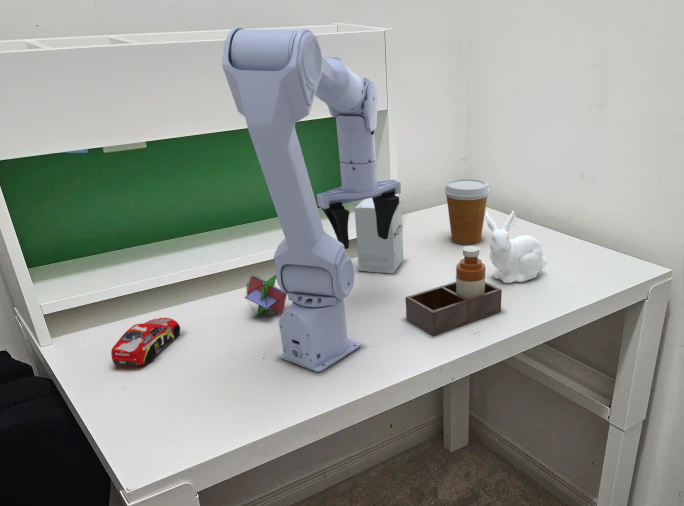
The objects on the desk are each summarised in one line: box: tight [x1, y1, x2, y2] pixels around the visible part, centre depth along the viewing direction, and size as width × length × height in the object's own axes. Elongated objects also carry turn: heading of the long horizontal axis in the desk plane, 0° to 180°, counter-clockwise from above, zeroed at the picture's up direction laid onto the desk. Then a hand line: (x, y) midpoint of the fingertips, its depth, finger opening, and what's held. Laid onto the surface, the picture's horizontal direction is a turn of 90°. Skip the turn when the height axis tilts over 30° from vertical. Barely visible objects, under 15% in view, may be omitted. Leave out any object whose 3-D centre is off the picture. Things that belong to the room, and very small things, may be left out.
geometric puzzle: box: [243, 274, 288, 318], centre depth 110 cm, size 7×7×8 cm
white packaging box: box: [354, 198, 404, 275], centre depth 126 cm, size 7×7×13 cm
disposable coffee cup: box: [443, 178, 490, 245], centre depth 140 cm, size 10×10×12 cm
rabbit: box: [484, 210, 548, 284], centre depth 123 cm, size 12×9×12 cm
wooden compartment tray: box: [405, 281, 503, 337], centre depth 110 cm, size 14×8×4 cm, turn 128°
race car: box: [110, 317, 181, 367], centre depth 100 cm, size 13×5×4 cm, turn 170°
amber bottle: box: [455, 245, 486, 299], centre depth 109 cm, size 5×5×10 cm
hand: (363, 242), depth 111 cm, fingers open, 7 cm apart
